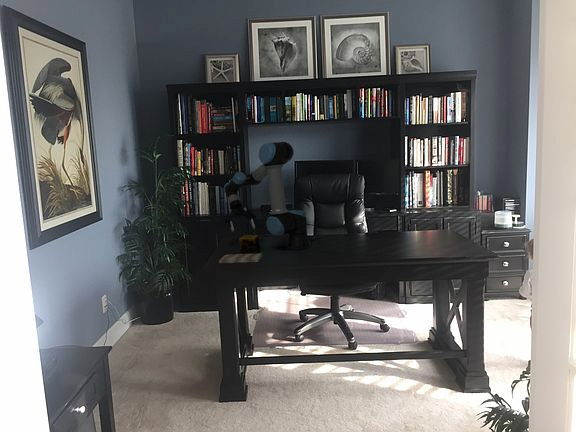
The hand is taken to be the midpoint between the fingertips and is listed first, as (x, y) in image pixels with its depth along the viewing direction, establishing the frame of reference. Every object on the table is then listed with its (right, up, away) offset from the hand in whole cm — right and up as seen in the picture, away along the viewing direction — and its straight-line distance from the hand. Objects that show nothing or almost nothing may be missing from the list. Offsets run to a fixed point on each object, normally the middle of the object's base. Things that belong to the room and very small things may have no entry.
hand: (243, 229), depth 305 cm
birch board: (0, -17, -22) cm, 27 cm away
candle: (+5, -14, -6) cm, 16 cm away
